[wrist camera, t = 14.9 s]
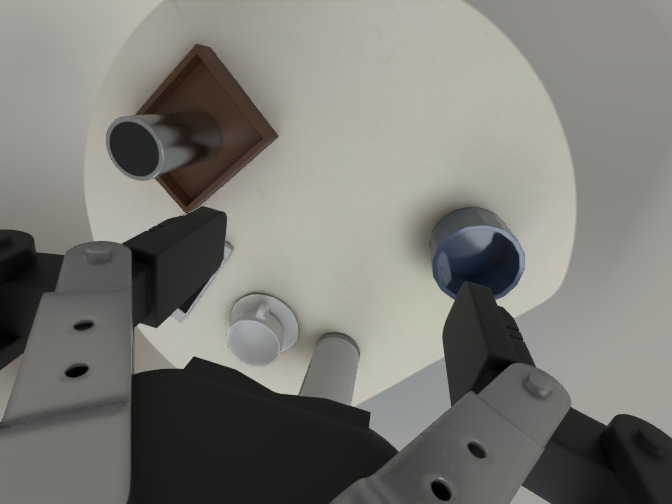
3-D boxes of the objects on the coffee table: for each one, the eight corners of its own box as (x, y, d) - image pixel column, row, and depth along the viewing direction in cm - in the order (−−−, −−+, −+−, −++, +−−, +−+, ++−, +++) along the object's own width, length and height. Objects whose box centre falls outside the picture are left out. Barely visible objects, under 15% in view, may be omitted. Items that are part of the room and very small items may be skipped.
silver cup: (178, 105, 40) (102, 109, 30) (224, 116, 39) (163, 124, 30) (178, 154, 42) (107, 172, 32) (221, 165, 42) (163, 187, 32)
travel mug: (369, 362, 50) (348, 512, 32) (327, 372, 52) (285, 518, 34) (351, 326, 48) (318, 464, 30) (308, 338, 51) (254, 474, 33)
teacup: (292, 360, 53) (282, 383, 48) (228, 339, 53) (212, 360, 49) (306, 305, 48) (296, 325, 44) (236, 283, 49) (220, 301, 45)
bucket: (443, 198, 40) (449, 215, 34) (521, 218, 39) (540, 238, 34) (419, 266, 43) (421, 290, 38) (490, 285, 43) (503, 313, 37)
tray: (210, 47, 38) (196, 43, 35) (278, 136, 40) (270, 139, 38) (133, 132, 43) (116, 135, 40) (198, 207, 45) (186, 213, 43)
